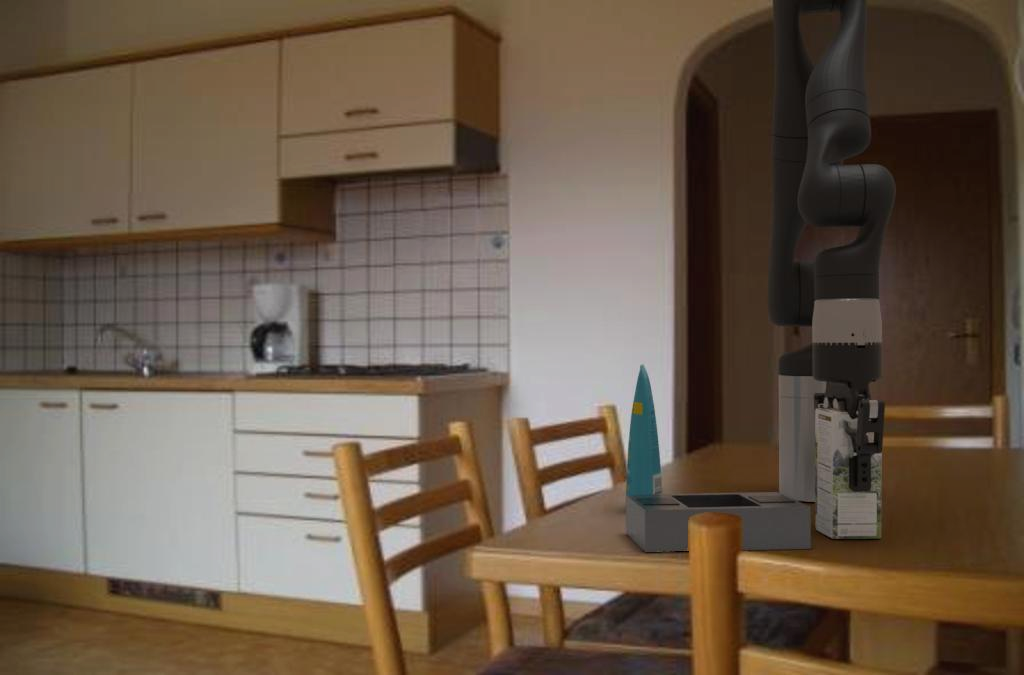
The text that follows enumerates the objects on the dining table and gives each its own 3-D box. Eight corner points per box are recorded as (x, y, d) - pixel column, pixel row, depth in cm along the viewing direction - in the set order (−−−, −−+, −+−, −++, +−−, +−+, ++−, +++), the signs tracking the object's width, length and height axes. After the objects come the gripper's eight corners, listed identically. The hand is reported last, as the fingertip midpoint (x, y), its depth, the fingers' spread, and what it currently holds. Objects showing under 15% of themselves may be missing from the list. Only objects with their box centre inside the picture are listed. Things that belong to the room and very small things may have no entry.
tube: (624, 507, 130) (623, 363, 130) (661, 507, 130) (660, 363, 130) (626, 517, 123) (625, 365, 123) (665, 517, 123) (664, 365, 123)
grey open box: (626, 533, 113) (625, 494, 113) (777, 530, 114) (777, 491, 114) (645, 552, 103) (644, 509, 103) (810, 548, 104) (810, 505, 104)
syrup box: (862, 529, 114) (861, 406, 114) (883, 540, 108) (882, 409, 108) (814, 530, 114) (813, 406, 114) (832, 540, 108) (831, 410, 108)
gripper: (791, 339, 118) (792, 478, 118) (841, 340, 104) (842, 497, 104) (851, 339, 119) (852, 477, 119) (909, 339, 104) (910, 496, 104)
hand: (847, 486), depth 111 cm, fingers closed on syrup box, 6 cm apart
